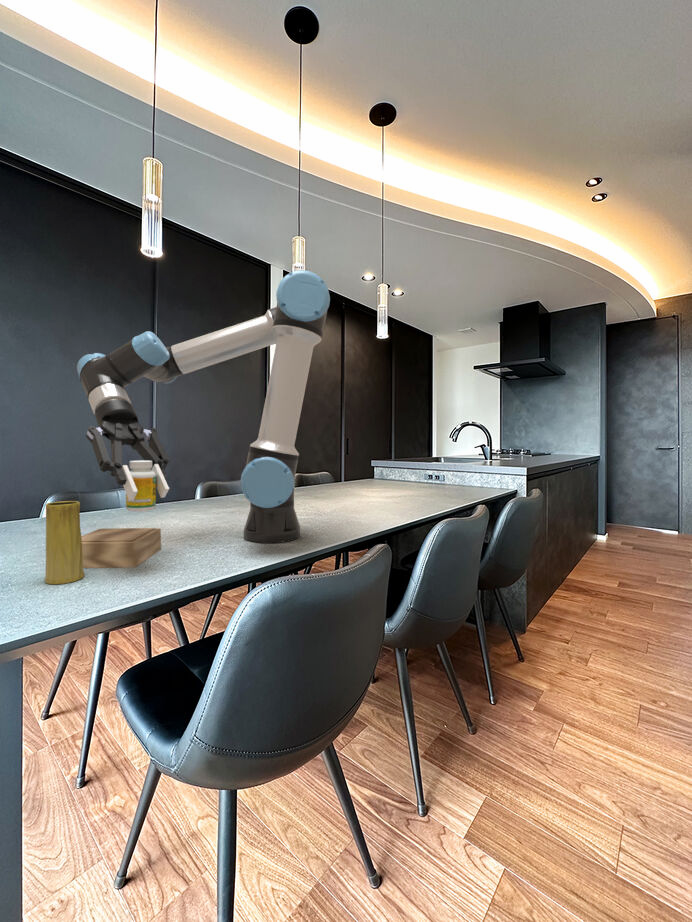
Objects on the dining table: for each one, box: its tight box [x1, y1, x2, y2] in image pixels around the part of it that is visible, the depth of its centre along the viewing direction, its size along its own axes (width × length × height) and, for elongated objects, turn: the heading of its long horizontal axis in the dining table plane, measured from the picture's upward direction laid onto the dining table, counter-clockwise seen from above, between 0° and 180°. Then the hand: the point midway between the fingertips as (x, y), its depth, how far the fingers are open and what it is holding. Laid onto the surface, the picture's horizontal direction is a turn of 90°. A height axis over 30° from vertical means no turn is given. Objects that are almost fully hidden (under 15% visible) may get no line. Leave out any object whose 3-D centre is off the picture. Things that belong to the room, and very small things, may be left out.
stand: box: [81, 527, 162, 569], centre depth 91 cm, size 14×14×5 cm
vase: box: [44, 500, 85, 585], centre depth 77 cm, size 6×6×14 cm
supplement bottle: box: [125, 459, 157, 513], centre depth 82 cm, size 5×5×10 cm
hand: (149, 494), depth 80 cm, fingers closed on supplement bottle, 5 cm apart
